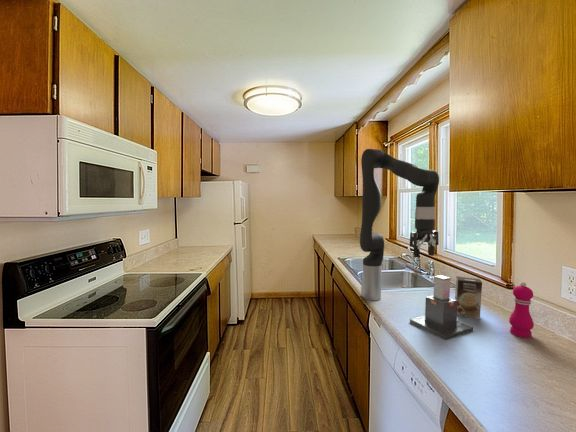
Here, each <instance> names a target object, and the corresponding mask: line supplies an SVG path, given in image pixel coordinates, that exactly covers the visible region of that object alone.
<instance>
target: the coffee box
mask: <svg viewBox="0 0 576 432" xmlns="http://www.w3.org/2000/svg"><path fill="white" fill-rule="evenodd" d="M482 288H483V282H482V280H481V279H480V278H473V277H466V276H456V277H455V296H454V299H455V300H458V305H457V317H464V318H469V319H476V320H480V319H481V310H482V309H481V307H482V292H483V291H482V290H483V289H482Z"/></svg>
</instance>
